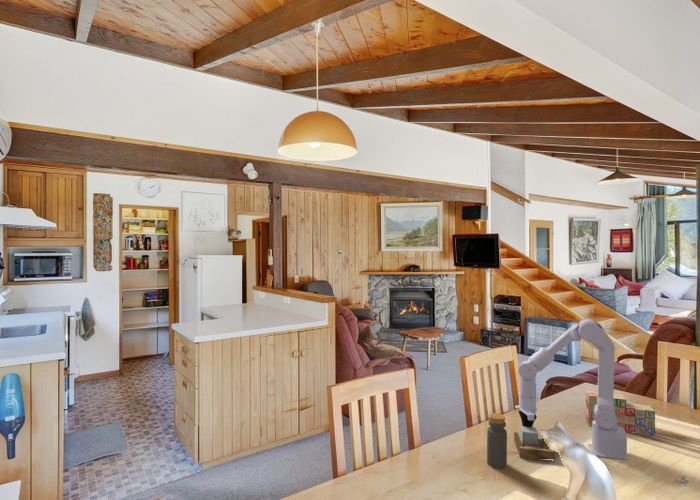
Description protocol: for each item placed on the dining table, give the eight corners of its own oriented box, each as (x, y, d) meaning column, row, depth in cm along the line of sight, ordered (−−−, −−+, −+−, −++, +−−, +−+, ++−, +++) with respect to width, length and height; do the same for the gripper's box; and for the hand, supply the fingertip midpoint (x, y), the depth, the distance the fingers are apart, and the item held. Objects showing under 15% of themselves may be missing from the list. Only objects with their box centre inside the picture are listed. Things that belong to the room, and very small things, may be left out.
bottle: (497, 470, 126) (497, 421, 126) (482, 461, 131) (483, 414, 131) (510, 466, 129) (511, 417, 129) (496, 457, 134) (496, 411, 134)
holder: (545, 444, 144) (545, 434, 144) (554, 461, 132) (555, 451, 132) (513, 440, 146) (514, 431, 146) (519, 457, 134) (520, 447, 134)
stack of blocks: (650, 430, 157) (650, 397, 157) (655, 436, 151) (655, 403, 151) (585, 420, 165) (586, 389, 165) (588, 426, 159) (588, 394, 159)
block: (535, 438, 148) (535, 427, 148) (538, 445, 143) (538, 433, 143) (520, 437, 149) (520, 425, 149) (522, 443, 144) (522, 431, 144)
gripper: (512, 387, 158) (512, 423, 158) (519, 401, 144) (518, 440, 144) (532, 389, 156) (532, 425, 156) (541, 403, 142) (540, 442, 142)
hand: (527, 432), depth 150 cm, fingers closed
